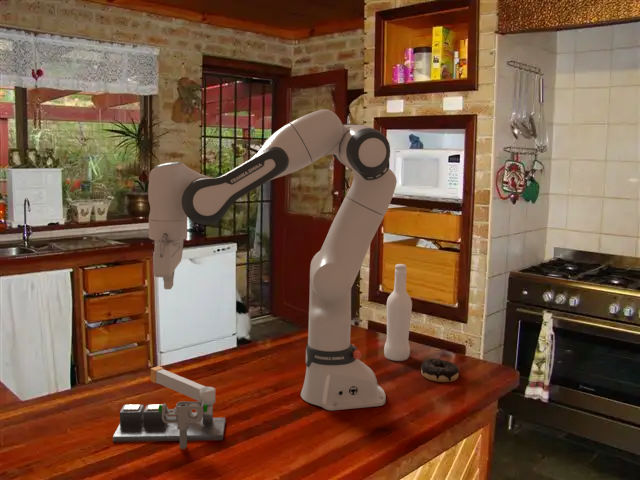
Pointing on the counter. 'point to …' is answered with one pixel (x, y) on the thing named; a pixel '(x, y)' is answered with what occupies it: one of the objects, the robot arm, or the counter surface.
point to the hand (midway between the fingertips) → (168, 288)
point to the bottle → (398, 318)
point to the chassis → (174, 430)
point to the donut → (439, 370)
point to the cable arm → (183, 385)
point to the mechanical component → (183, 416)
